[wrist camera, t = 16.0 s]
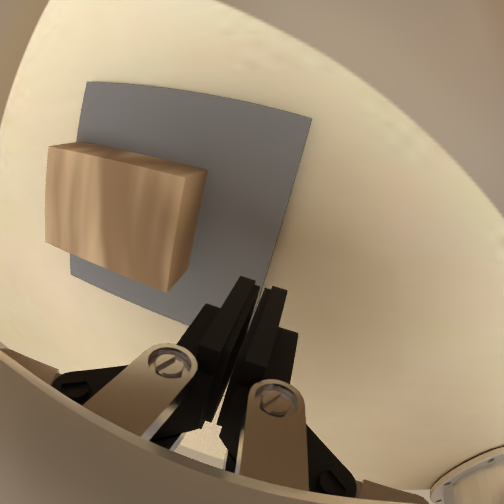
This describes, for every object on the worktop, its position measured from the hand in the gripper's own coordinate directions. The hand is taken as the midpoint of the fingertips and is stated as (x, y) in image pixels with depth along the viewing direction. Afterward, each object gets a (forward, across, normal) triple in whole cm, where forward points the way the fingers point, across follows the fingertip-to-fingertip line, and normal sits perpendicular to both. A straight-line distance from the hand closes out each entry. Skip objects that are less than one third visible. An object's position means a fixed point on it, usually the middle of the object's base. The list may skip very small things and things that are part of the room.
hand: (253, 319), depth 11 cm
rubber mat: (+7, +7, 0) cm, 10 cm away
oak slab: (+5, +5, 0) cm, 7 cm away
